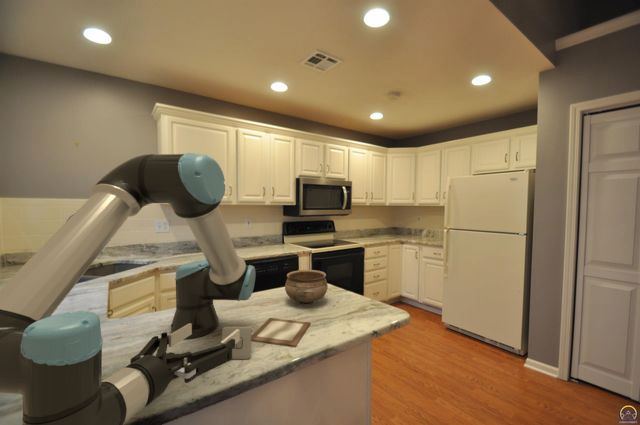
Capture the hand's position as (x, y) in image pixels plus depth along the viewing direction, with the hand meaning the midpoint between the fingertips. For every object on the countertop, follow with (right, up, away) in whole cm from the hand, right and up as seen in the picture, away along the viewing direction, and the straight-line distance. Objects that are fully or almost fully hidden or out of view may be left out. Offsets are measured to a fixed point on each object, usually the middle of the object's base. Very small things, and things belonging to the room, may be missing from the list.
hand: (213, 331), depth 65 cm
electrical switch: (+2, -12, +10) cm, 16 cm away
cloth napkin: (+13, -11, +24) cm, 29 cm away
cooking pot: (+20, -11, +52) cm, 57 cm away
